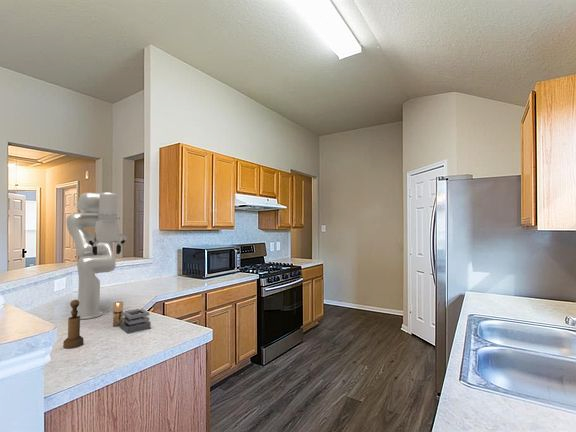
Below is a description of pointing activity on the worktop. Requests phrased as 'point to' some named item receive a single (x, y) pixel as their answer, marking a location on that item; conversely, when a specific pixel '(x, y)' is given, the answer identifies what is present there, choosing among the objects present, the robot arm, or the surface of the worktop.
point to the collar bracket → (135, 321)
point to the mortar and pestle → (73, 328)
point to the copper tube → (117, 313)
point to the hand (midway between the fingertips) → (106, 254)
